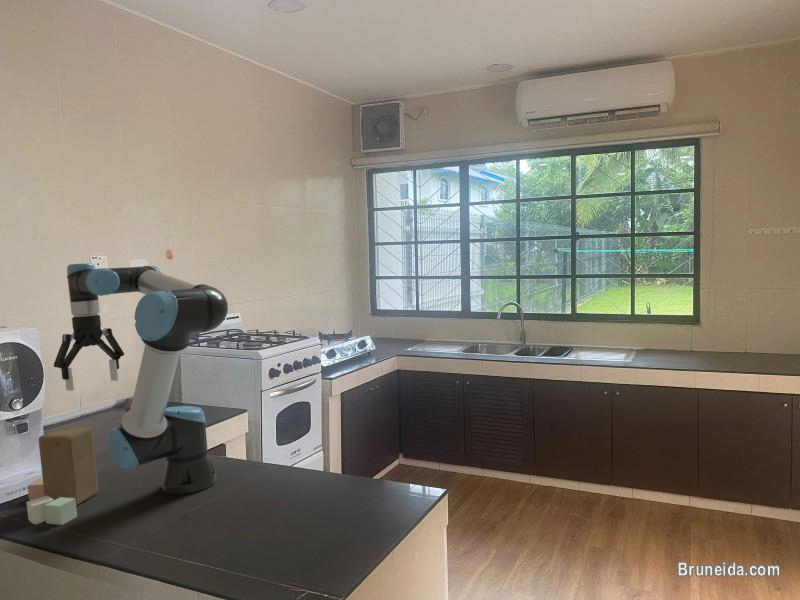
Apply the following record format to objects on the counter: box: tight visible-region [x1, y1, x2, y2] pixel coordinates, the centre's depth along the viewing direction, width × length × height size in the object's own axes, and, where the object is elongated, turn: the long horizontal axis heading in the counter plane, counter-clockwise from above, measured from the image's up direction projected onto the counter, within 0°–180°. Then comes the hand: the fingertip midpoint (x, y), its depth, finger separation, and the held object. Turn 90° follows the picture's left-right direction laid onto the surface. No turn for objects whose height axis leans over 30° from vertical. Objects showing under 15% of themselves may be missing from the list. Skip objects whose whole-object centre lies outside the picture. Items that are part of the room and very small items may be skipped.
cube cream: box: [26, 496, 54, 525], centre depth 159 cm, size 5×5×5 cm
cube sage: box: [45, 497, 78, 526], centre depth 157 cm, size 5×5×5 cm
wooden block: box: [38, 426, 99, 506], centre depth 170 cm, size 10×10×20 cm
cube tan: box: [27, 478, 45, 501], centre depth 173 cm, size 5×5×5 cm
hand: (93, 385), depth 181 cm, fingers open, 13 cm apart
